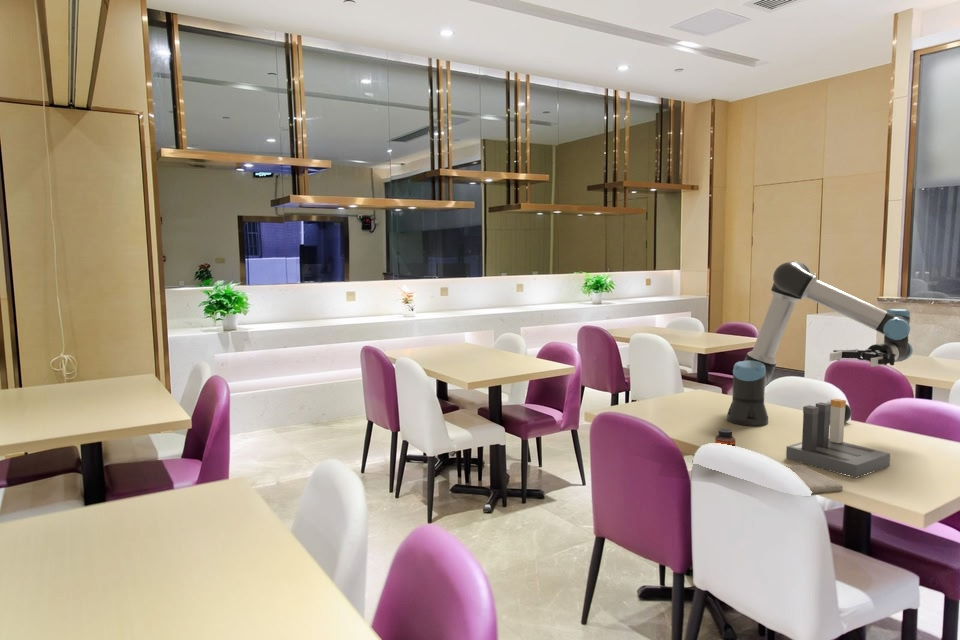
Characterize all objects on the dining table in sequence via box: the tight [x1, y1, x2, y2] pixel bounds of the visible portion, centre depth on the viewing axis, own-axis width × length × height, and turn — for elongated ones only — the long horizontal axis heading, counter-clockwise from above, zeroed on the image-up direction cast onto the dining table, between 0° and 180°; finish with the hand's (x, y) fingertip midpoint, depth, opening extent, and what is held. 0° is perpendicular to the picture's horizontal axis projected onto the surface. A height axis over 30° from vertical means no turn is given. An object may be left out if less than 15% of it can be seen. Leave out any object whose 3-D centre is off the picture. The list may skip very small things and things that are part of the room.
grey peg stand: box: [785, 401, 891, 478], centre depth 201 cm, size 22×20×18 cm
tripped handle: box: [829, 398, 847, 443], centre depth 209 cm, size 3×3×14 cm
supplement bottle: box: [714, 428, 736, 447], centre depth 200 cm, size 6×6×11 cm
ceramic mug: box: [826, 400, 853, 423], centre depth 251 cm, size 11×8×8 cm
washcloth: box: [785, 464, 843, 494], centre depth 185 cm, size 12×18×3 cm, turn 12°
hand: (850, 359), depth 217 cm, fingers open, 13 cm apart
